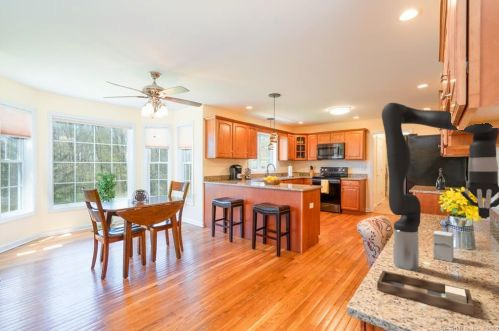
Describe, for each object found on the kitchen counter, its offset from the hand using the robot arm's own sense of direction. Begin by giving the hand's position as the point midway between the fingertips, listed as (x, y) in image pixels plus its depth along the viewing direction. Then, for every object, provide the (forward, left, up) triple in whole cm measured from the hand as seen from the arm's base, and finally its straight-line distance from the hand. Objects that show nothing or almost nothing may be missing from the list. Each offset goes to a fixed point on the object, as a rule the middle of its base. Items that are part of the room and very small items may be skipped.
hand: (483, 218), depth 86 cm
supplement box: (-32, +11, -27) cm, 43 cm away
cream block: (+7, -17, -26) cm, 32 cm away
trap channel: (+2, -24, -27) cm, 36 cm away
